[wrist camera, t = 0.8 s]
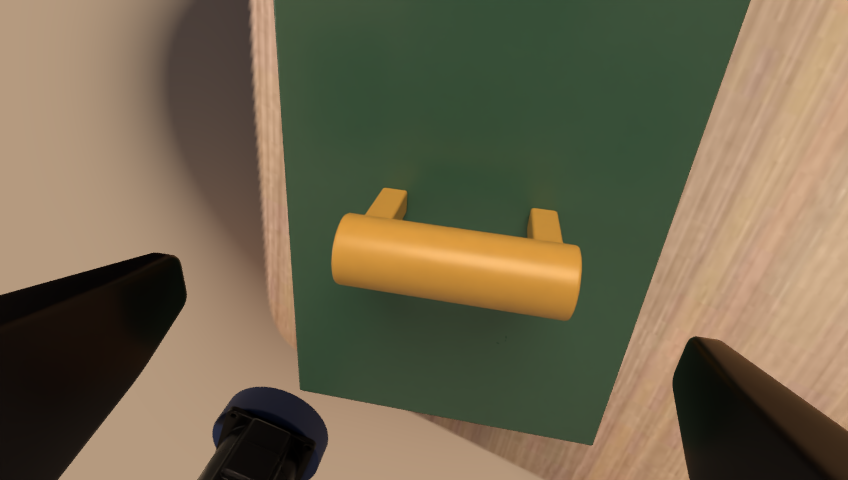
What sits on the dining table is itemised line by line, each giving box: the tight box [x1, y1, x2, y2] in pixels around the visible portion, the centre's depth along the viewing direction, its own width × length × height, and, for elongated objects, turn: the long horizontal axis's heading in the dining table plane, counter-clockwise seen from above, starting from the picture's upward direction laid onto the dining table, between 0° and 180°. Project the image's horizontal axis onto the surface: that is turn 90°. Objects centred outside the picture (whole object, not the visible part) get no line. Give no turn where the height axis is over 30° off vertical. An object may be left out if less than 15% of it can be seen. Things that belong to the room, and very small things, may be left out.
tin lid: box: [273, 0, 751, 445], centre depth 12 cm, size 15×10×4 cm
